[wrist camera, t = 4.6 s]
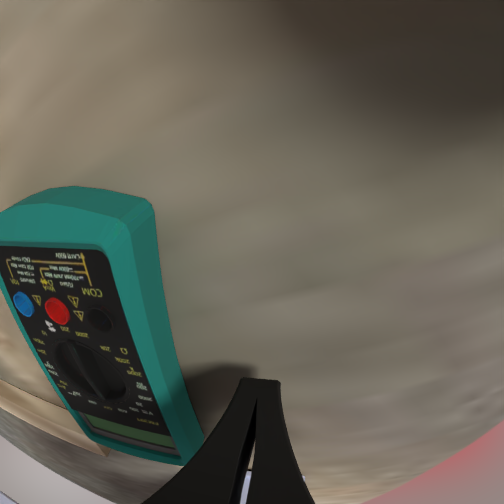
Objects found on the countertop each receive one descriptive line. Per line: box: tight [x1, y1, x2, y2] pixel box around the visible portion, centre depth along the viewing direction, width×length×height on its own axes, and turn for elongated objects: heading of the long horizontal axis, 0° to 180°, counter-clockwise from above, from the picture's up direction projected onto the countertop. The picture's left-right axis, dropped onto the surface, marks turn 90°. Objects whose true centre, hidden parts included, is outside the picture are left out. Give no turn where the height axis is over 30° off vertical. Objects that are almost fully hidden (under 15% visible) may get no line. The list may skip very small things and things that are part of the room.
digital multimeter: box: [0, 186, 204, 466], centre depth 12 cm, size 7×15×3 cm, turn 1°
